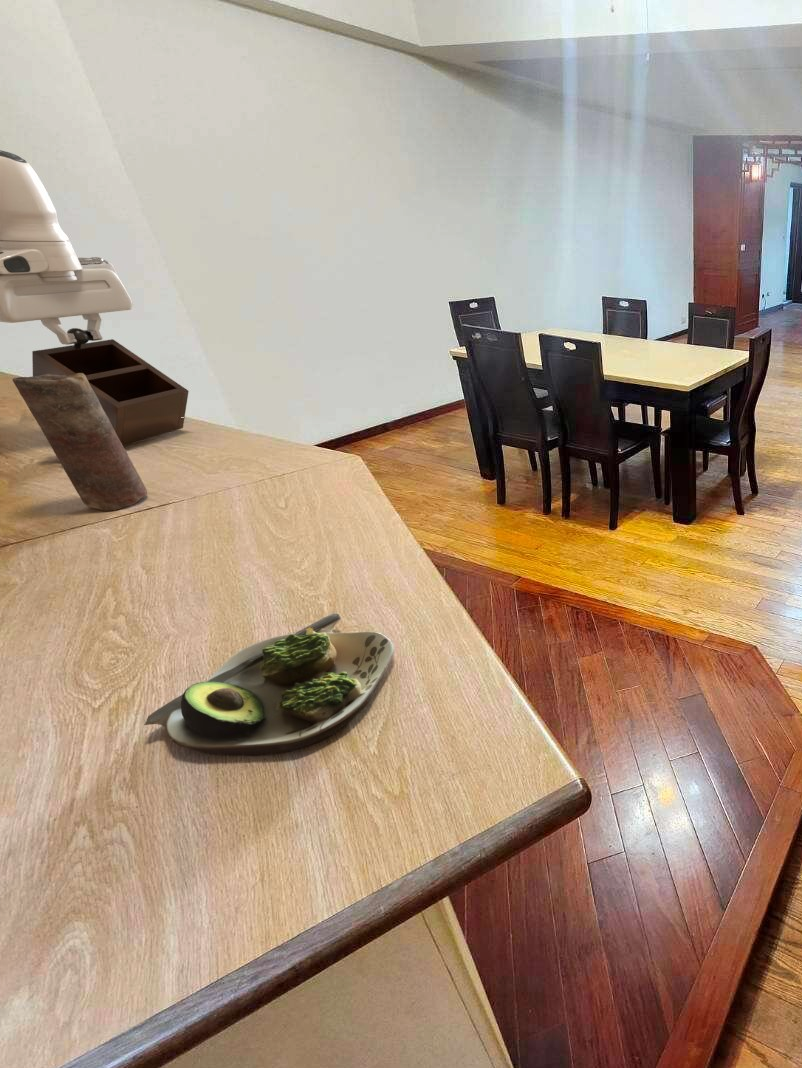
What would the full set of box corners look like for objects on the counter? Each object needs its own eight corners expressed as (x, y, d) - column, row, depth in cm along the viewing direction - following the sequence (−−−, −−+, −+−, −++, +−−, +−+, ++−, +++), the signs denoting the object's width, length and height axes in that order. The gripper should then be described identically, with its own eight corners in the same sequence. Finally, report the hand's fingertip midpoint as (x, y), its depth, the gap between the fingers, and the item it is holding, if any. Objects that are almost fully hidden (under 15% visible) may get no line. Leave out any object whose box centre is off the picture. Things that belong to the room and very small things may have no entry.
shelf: (28, 392, 109) (27, 330, 102) (106, 376, 120) (110, 320, 113) (114, 448, 112) (119, 391, 105) (183, 428, 123) (191, 375, 116)
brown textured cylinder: (72, 508, 91) (-4, 377, 81) (125, 490, 97) (61, 366, 87) (110, 515, 89) (38, 382, 80) (161, 496, 96) (100, 371, 86)
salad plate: (267, 626, 68) (252, 593, 66) (426, 626, 69) (417, 593, 67) (125, 760, 51) (98, 722, 49) (338, 757, 52) (322, 720, 50)
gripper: (95, 255, 112) (129, 332, 118) (-50, 260, 94) (0, 350, 101) (122, 257, 111) (155, 334, 118) (-19, 263, 93) (29, 353, 100)
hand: (82, 342), depth 109 cm, fingers closed on shelf, 3 cm apart
